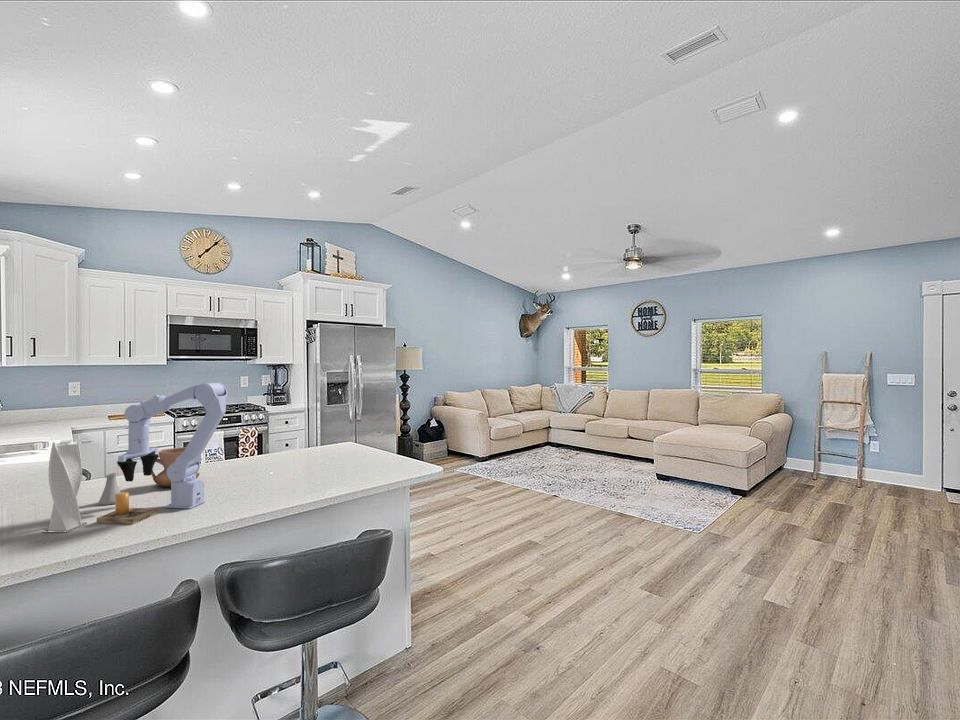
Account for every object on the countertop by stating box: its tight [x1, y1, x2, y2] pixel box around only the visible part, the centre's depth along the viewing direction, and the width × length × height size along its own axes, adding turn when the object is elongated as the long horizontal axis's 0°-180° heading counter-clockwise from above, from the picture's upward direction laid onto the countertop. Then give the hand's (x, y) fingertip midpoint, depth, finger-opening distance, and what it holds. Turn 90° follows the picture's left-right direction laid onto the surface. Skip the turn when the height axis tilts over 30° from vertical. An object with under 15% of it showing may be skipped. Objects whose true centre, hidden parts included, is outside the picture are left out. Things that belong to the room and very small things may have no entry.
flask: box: [97, 472, 122, 506], centre depth 162 cm, size 7×7×10 cm
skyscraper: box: [43, 434, 88, 533], centre depth 137 cm, size 8×8×28 cm
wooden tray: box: [96, 507, 159, 525], centre depth 147 cm, size 12×10×2 cm
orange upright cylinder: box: [114, 491, 130, 517], centre depth 146 cm, size 3×3×8 cm
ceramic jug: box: [150, 446, 200, 488], centre depth 185 cm, size 18×14×14 cm
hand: (138, 478), depth 159 cm, fingers open, 7 cm apart
